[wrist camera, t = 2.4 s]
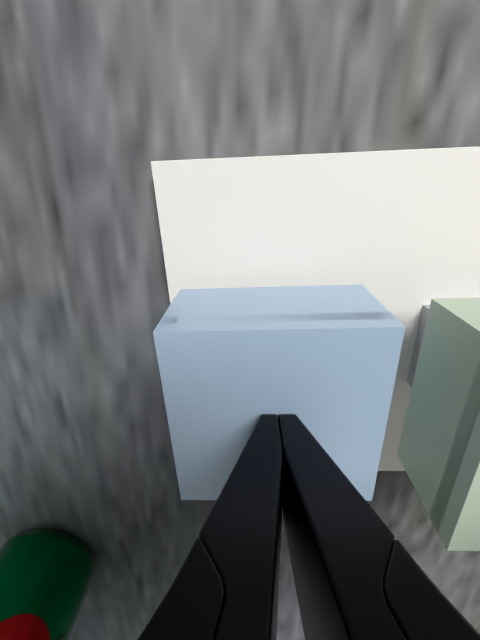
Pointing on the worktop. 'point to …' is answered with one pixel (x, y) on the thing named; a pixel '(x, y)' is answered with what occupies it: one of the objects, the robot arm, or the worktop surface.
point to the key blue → (276, 375)
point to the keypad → (330, 233)
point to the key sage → (447, 422)
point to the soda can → (42, 584)
